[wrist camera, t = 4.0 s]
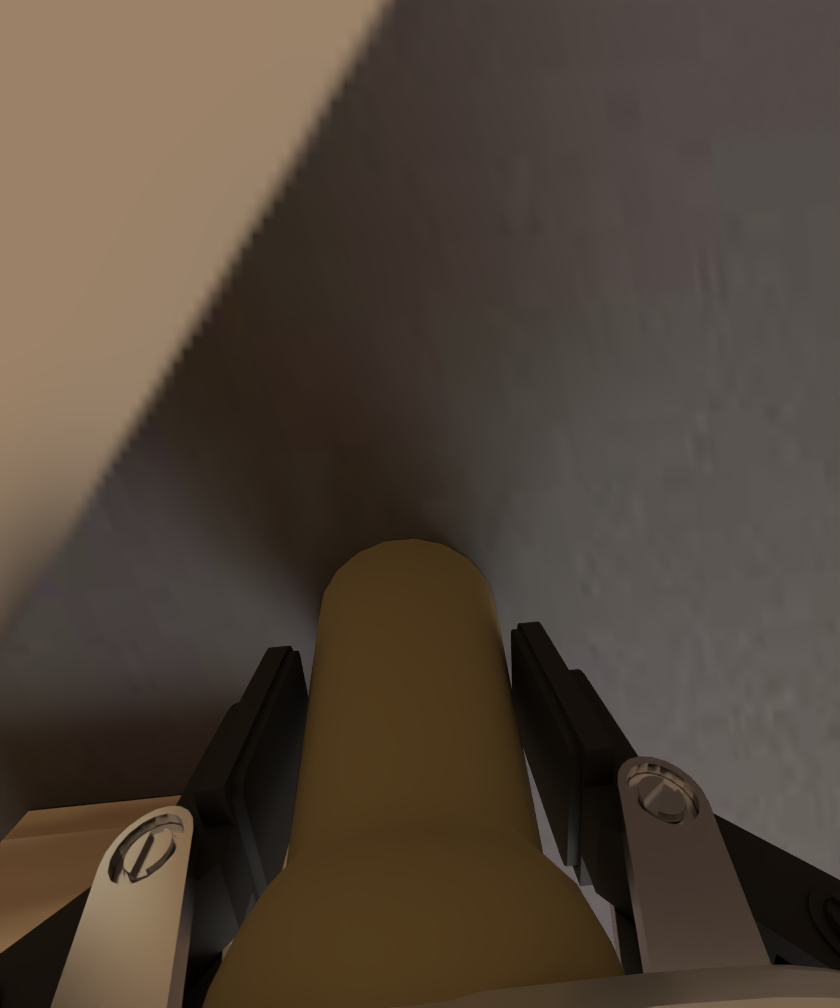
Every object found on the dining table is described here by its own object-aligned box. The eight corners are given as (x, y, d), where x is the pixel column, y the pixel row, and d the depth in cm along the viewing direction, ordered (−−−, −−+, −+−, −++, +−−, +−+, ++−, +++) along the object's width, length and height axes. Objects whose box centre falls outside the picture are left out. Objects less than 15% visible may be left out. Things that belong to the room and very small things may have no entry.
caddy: (28, 811, 15) (-126, 982, 10) (371, 775, 15) (359, 928, 11) (126, 1019, 18) (40, 1212, 14) (403, 987, 19) (403, 1167, 14)
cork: (319, 533, 12) (-160, 1337, 2) (507, 543, 13) (1015, 1260, 2) (318, 692, 14) (60, 1616, 3) (485, 697, 14) (718, 1542, 4)
